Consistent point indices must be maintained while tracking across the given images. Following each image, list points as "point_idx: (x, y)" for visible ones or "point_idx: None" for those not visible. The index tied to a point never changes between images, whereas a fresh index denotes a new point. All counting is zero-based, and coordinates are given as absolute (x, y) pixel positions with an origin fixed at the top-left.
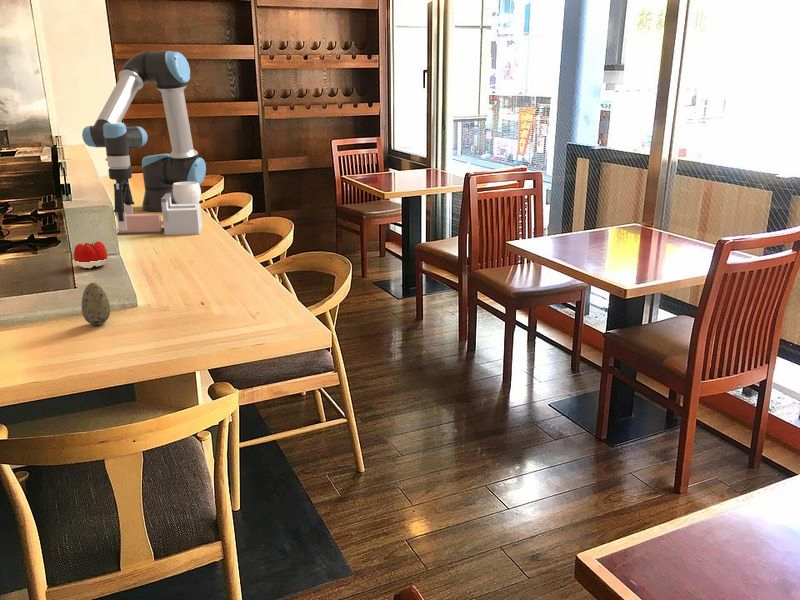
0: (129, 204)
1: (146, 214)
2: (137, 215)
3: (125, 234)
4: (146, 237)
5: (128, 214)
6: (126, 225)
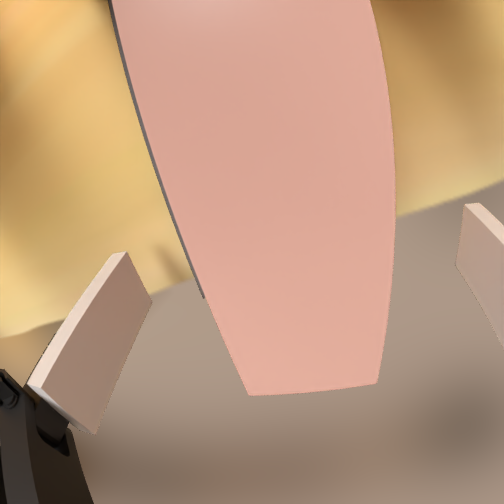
0: (44, 407)
1: (218, 15)
2: (348, 169)
3: None
4: (465, 30)
5: (244, 333)
6: (494, 224)
